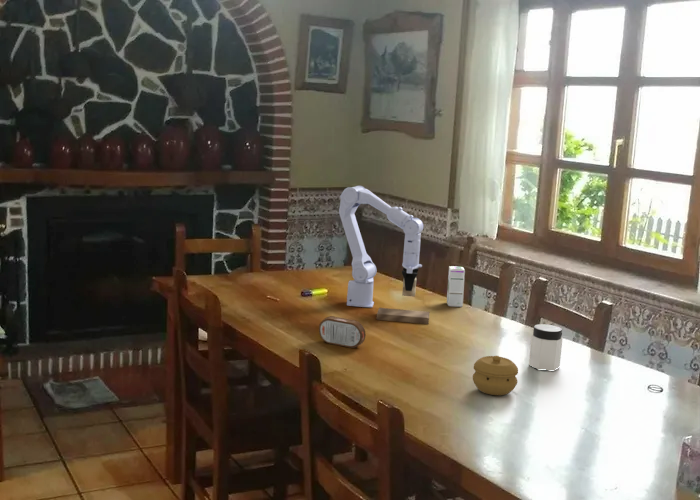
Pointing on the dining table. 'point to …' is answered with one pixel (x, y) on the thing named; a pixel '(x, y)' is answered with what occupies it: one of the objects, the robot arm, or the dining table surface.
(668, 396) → the dining table surface
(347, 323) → the tin
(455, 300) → the syrup box
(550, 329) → the jar
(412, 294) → the oak block
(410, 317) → the walnut slab
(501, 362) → the pot
